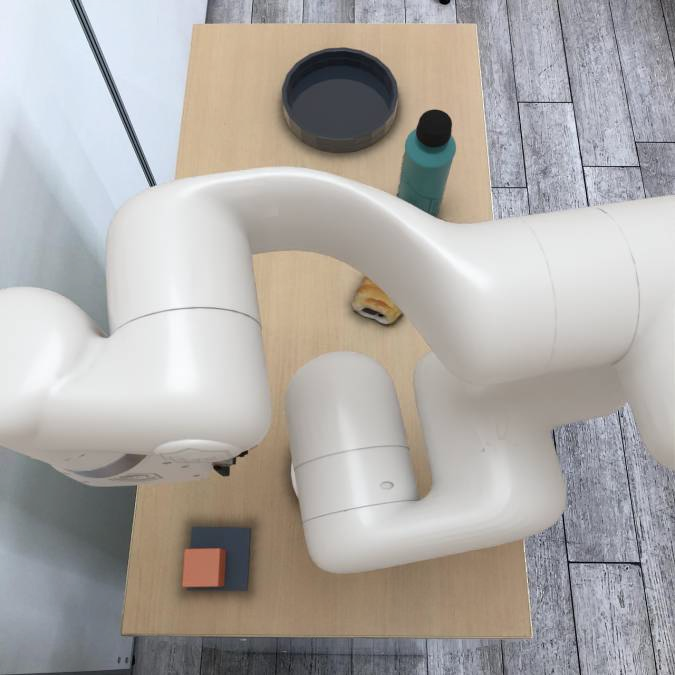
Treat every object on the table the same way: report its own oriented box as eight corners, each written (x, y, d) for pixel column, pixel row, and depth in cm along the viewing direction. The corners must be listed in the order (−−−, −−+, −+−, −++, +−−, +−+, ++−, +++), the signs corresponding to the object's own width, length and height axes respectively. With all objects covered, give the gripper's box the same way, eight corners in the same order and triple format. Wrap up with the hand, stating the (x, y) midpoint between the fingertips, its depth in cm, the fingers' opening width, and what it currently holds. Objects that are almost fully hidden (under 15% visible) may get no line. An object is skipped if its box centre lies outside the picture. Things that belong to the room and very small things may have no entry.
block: (226, 549, 74) (220, 548, 70) (224, 586, 73) (218, 586, 69) (192, 550, 74) (184, 548, 70) (189, 586, 73) (181, 587, 69)
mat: (247, 590, 73) (246, 590, 73) (187, 589, 73) (186, 590, 73) (250, 527, 75) (250, 527, 75) (192, 527, 75) (191, 526, 75)
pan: (414, 133, 96) (417, 117, 93) (308, 169, 94) (307, 154, 90) (369, 51, 102) (370, 34, 98) (268, 84, 99) (265, 67, 96)
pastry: (374, 256, 88) (375, 242, 85) (419, 272, 88) (422, 259, 84) (349, 313, 85) (349, 301, 82) (395, 330, 84) (398, 320, 81)
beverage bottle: (439, 196, 92) (465, 99, 73) (437, 236, 90) (463, 146, 71) (395, 192, 92) (409, 95, 74) (391, 232, 90) (406, 141, 71)
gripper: (-48, 484, 38) (69, 511, 54) (238, 468, 38) (270, 499, 54) (-29, 366, 41) (77, 425, 57) (238, 351, 41) (268, 414, 57)
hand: (171, 461), depth 55 cm, fingers open, 9 cm apart
